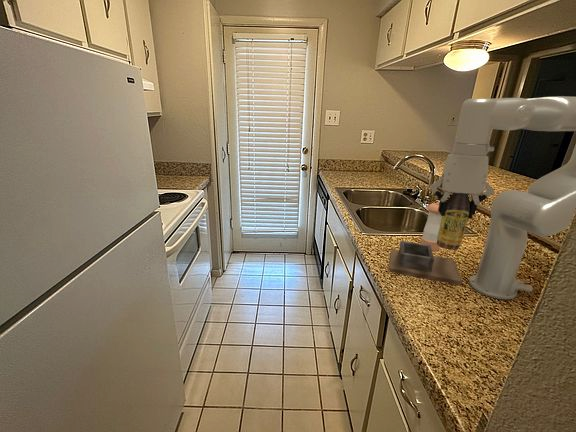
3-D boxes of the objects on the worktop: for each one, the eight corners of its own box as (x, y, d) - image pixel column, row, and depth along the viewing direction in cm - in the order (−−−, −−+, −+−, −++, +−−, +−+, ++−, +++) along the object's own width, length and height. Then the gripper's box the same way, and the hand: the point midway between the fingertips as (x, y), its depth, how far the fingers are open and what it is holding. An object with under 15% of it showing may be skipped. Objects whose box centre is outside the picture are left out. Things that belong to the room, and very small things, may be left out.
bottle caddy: (452, 262, 108) (456, 246, 105) (460, 285, 93) (465, 267, 91) (390, 252, 115) (393, 237, 112) (389, 271, 100) (391, 255, 98)
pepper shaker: (429, 251, 116) (438, 205, 110) (416, 243, 123) (424, 200, 116) (443, 249, 118) (453, 204, 112) (429, 241, 125) (438, 199, 118)
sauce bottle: (437, 249, 82) (450, 180, 75) (434, 240, 88) (446, 175, 81) (463, 252, 80) (479, 182, 74) (458, 243, 86) (472, 177, 79)
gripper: (502, 149, 76) (486, 214, 82) (430, 147, 80) (420, 208, 87) (514, 153, 69) (495, 224, 75) (435, 150, 74) (423, 216, 80)
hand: (455, 215), depth 81 cm, fingers closed on sauce bottle, 6 cm apart
